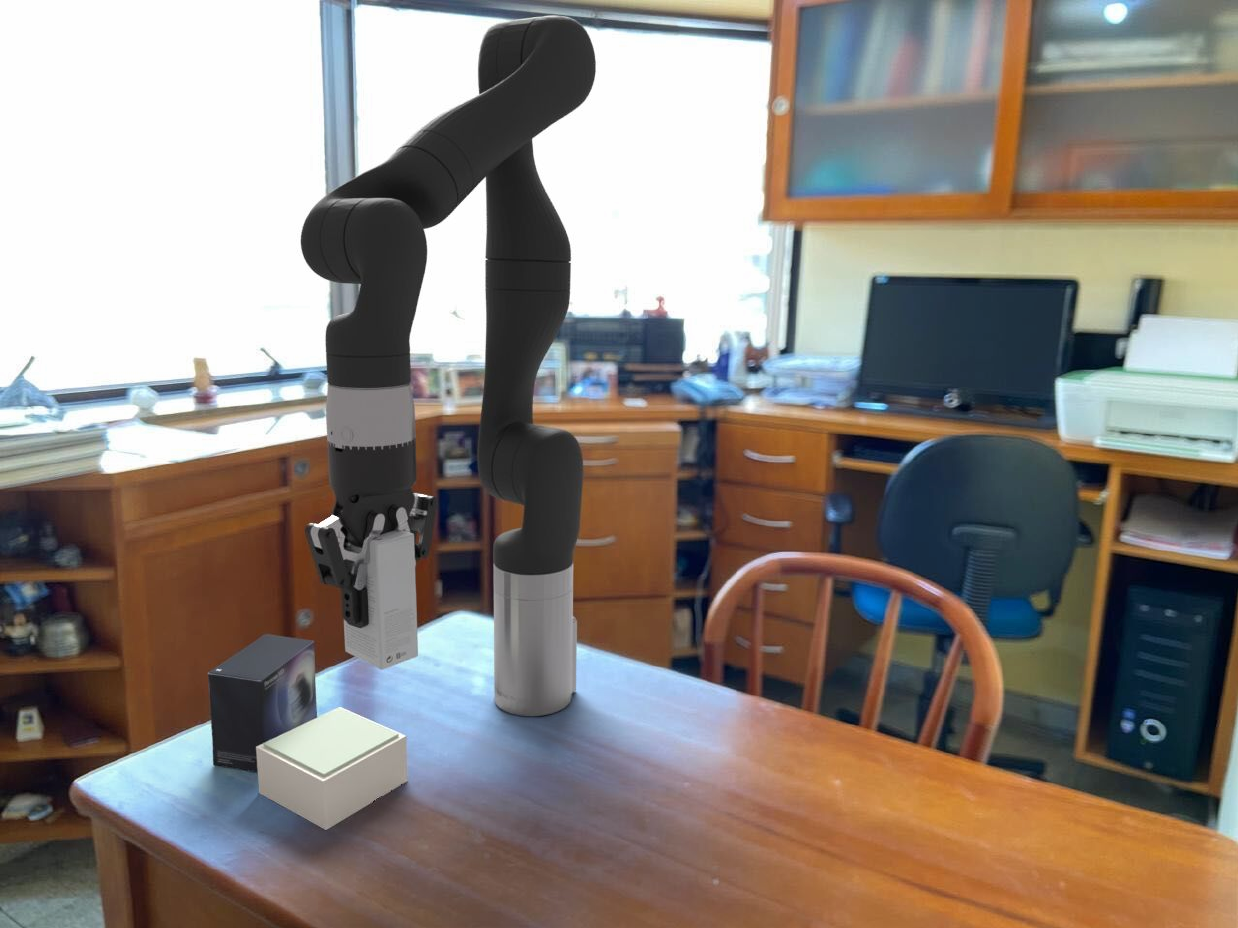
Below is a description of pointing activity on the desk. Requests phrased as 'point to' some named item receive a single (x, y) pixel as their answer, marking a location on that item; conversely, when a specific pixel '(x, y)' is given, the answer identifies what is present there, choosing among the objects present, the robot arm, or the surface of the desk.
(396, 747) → the cream rectangular block
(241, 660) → the small box
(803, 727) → the desk surface
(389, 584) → the skincare box
